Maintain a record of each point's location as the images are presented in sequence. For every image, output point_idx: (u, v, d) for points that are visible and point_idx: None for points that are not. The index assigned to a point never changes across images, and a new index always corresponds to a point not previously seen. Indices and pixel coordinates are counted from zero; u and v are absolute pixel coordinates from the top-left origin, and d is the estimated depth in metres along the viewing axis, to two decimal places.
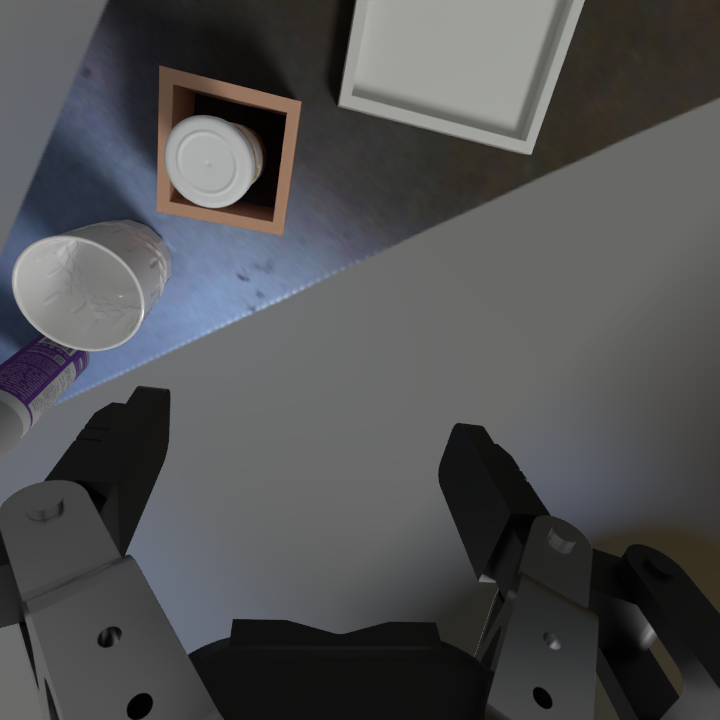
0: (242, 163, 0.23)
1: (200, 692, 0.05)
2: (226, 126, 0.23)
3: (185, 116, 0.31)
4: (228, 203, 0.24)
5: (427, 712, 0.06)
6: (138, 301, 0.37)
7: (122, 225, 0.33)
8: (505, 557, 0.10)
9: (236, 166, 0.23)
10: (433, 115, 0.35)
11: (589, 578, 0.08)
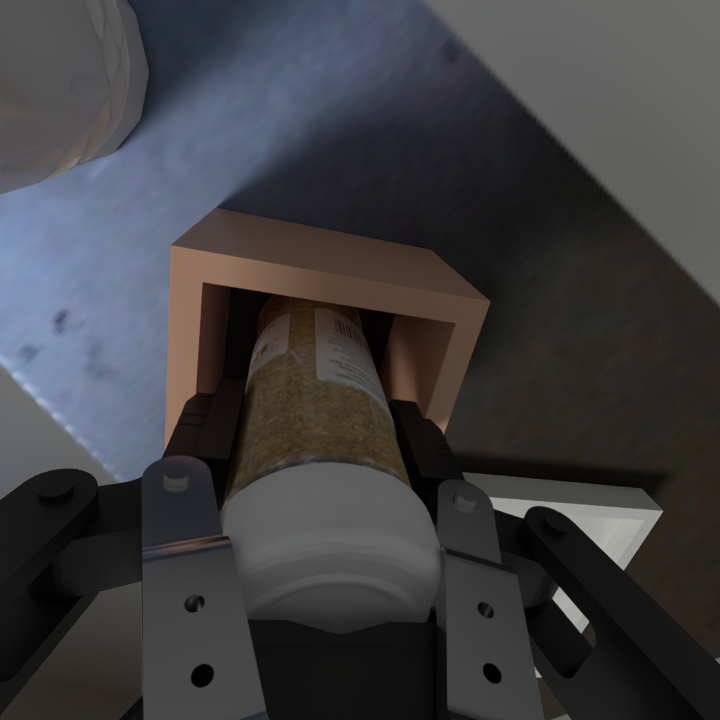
0: None
1: (254, 683, 0.05)
2: None
3: None
4: None
5: (427, 712, 0.06)
6: None
7: (120, 83, 0.12)
8: None
9: None
10: None
11: (481, 533, 0.09)
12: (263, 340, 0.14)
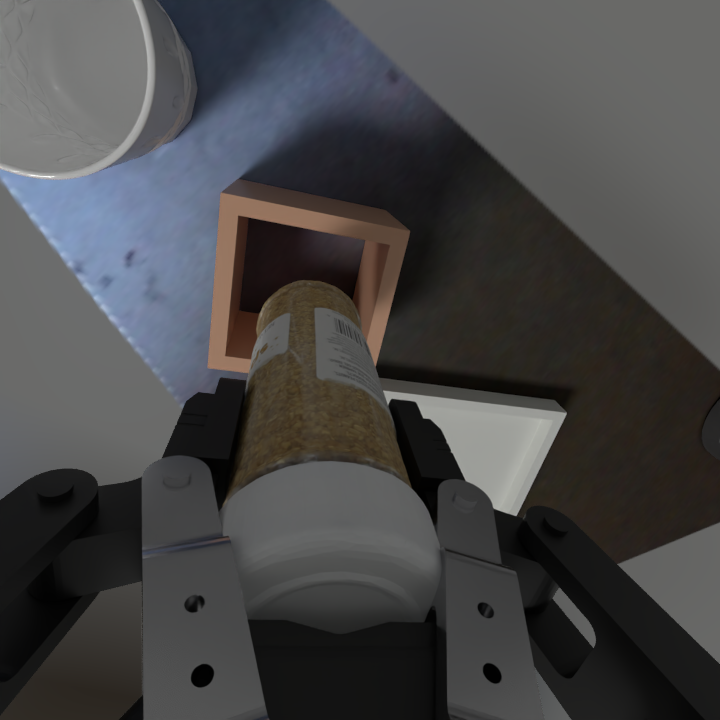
0: None
1: (254, 683, 0.05)
2: None
3: None
4: None
5: (427, 712, 0.06)
6: (42, 87, 0.20)
7: (186, 97, 0.20)
8: None
9: None
10: None
11: (482, 533, 0.09)
12: (263, 340, 0.14)
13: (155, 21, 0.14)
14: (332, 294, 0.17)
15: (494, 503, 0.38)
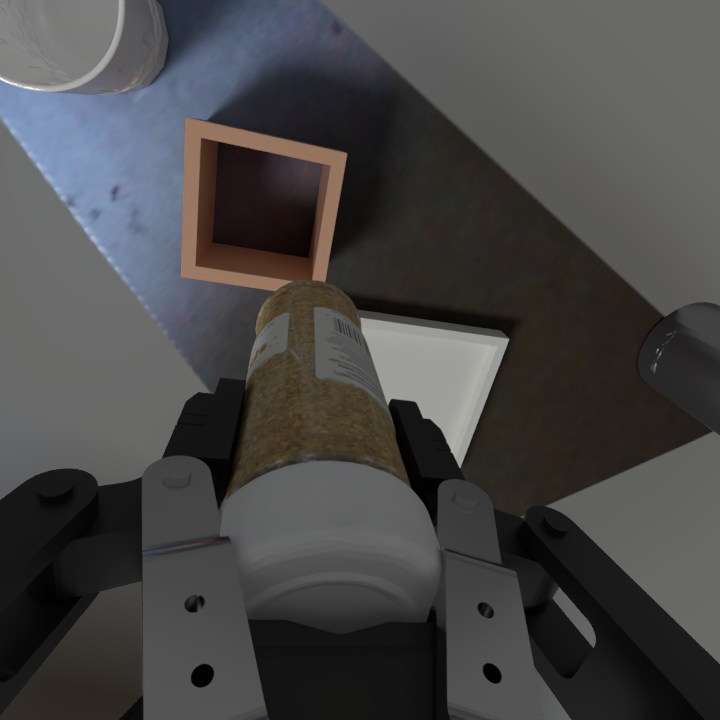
0: None
1: (254, 683, 0.05)
2: None
3: None
4: None
5: (427, 712, 0.06)
6: (37, 33, 0.24)
7: (157, 41, 0.24)
8: None
9: None
10: None
11: (482, 533, 0.09)
12: (262, 339, 0.14)
13: None
14: (331, 293, 0.17)
15: (451, 430, 0.42)
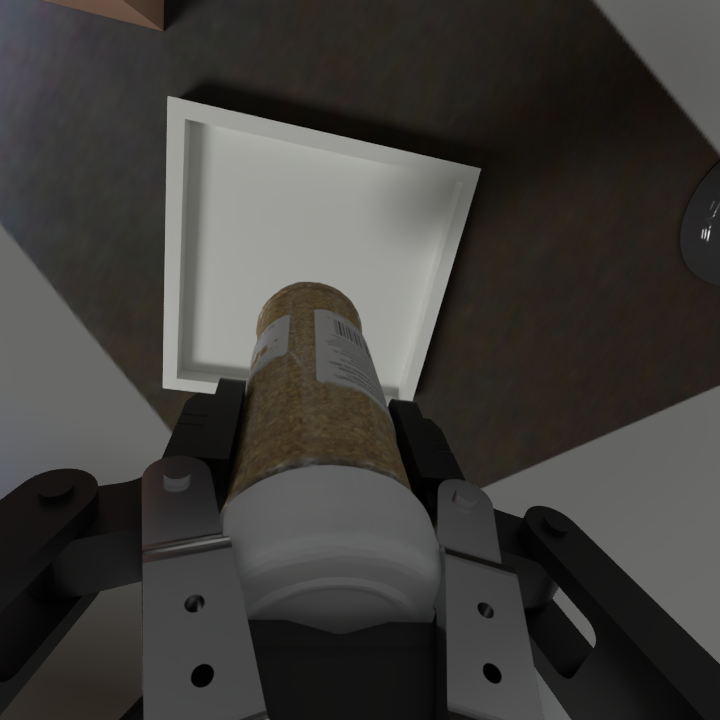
0: None
1: (254, 683, 0.05)
2: None
3: None
4: None
5: (427, 712, 0.06)
6: None
7: None
8: None
9: None
10: (189, 252, 0.25)
11: (481, 533, 0.09)
12: (263, 341, 0.14)
13: None
14: (332, 295, 0.17)
15: (402, 332, 0.29)
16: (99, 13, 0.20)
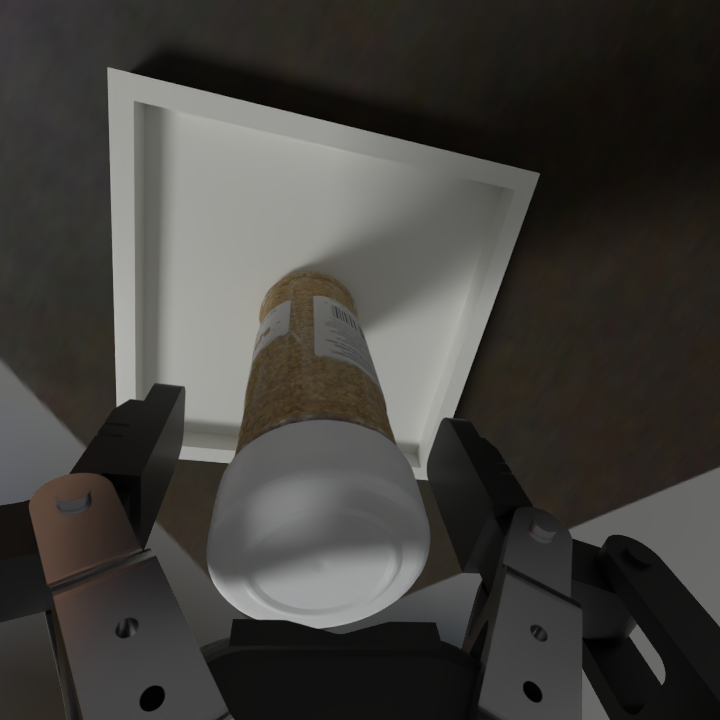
0: (326, 621, 0.10)
1: (211, 688, 0.05)
2: (405, 591, 0.10)
3: None
4: (224, 597, 0.09)
5: (427, 712, 0.06)
6: None
7: None
8: (488, 548, 0.10)
9: (318, 614, 0.09)
10: (149, 281, 0.19)
11: (567, 567, 0.08)
12: (266, 324, 0.16)
13: None
14: (330, 284, 0.19)
15: (425, 379, 0.23)
16: None
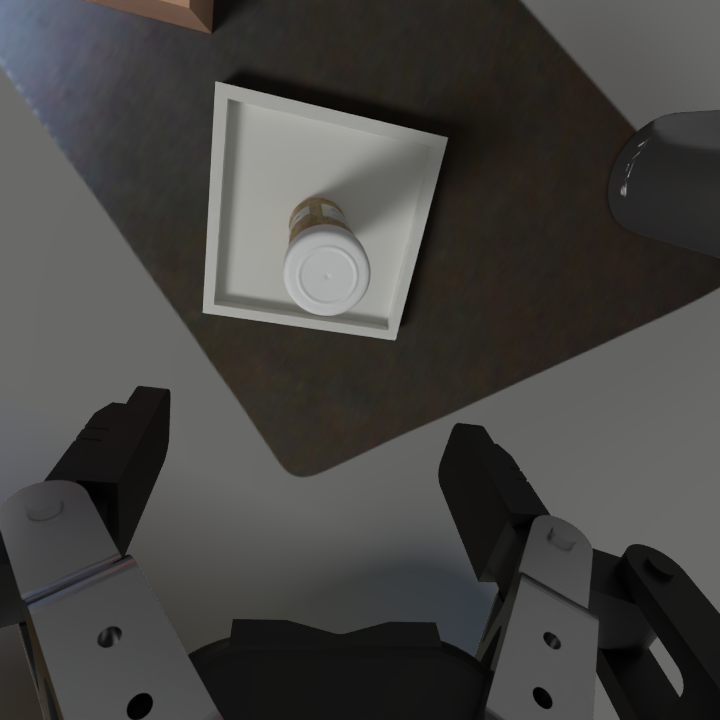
0: (329, 309, 0.23)
1: (200, 692, 0.05)
2: (361, 296, 0.23)
3: None
4: (289, 292, 0.23)
5: (427, 712, 0.06)
6: None
7: None
8: (505, 557, 0.10)
9: (326, 303, 0.23)
10: (226, 203, 0.33)
11: (589, 578, 0.08)
12: (296, 216, 0.29)
13: None
14: (330, 203, 0.33)
15: (390, 271, 0.37)
16: (166, 20, 0.28)
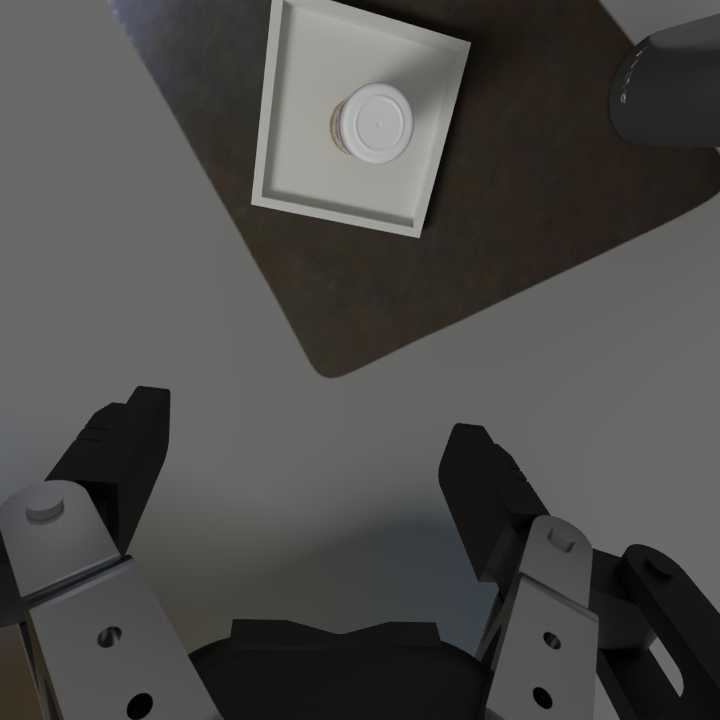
0: (378, 156, 0.28)
1: (200, 692, 0.05)
2: (406, 146, 0.28)
3: None
4: (346, 139, 0.27)
5: (427, 712, 0.06)
6: None
7: None
8: (505, 557, 0.10)
9: (376, 151, 0.28)
10: (275, 101, 0.37)
11: (589, 578, 0.08)
12: (341, 103, 0.34)
13: None
14: None
15: (416, 173, 0.41)
16: None
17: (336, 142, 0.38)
